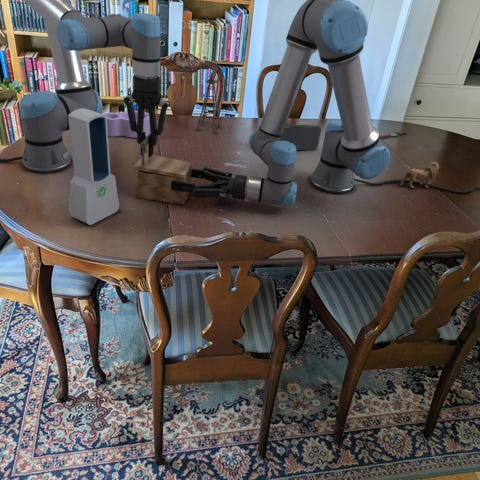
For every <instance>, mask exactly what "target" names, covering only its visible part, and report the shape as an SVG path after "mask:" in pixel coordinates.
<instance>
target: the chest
mask: <svg viewBox="0 0 480 480" xmlns="http://www.w3.org/2000/svg"><path fill="white" fill-rule="evenodd" d="M192 167H193V166H191V168H190V170H189V171H188V173H187V175H186V177H185V179H184V178H179V177H173V176H168V175H163V174H157V173H152V172H147V171H141V170H137V198H138V199H143V200H150V201H155V202H156V201H157V202H164V203H171V204H179V205H185V203H186V201H187V199H188V197H189V195H190V194H191V193H190V192H183V191H176V190H171V181H177V182H184V183H191V184H192V177H191V170H192V169H193V168H192Z"/></svg>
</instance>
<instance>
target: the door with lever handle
mask: <svg viewBox="0 0 480 480" xmlns="http://www.w3.org/2000/svg"><path fill="white" fill-rule="evenodd" d="M150 134H151V133H150ZM150 134H148V135H147V136H146V138H145V139H144V140H143V141H142V142H141V143H140V144H139V146H141V147H142V156H141V157H140V158H139V159H138V160H137V162H136V163H135V164H134V166H133V169H134V170H137V171H139V170H141V171H147V172H152V173H157V174H163V175H168V176H173V177H179V178H184V179H185V177H186V175H187V173H188V171H189V170H190V168H191V166H192V165H193V162H192V161H191V162H190V161H186V160H181V159H176V158H170V157H164V156H159V155H154V154H153V155H152V156H151V157H149V149H148V151H147V153H145V147H148V136H149V135H150ZM192 167H193V166H192Z"/></svg>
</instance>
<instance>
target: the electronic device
mask: <svg viewBox="0 0 480 480" xmlns="http://www.w3.org/2000/svg"><path fill="white" fill-rule="evenodd" d="M103 114H104V113H102V114H100V113H97V112H94V111H91V110H88V109H77V110H75V111H73V112H71V113H70V114H69V115H68V119H69V128H70V130H69V135H70V136H69V137H70V145H71V154H72V155H71V156H72V164H73V172H74V175H73V176H72V178H71V180H70V181H69V184H70V185H69V196H68V197H69V199H68V211H69V213H70V216H71V217H73V218H74V219H76V220H78V221H81V222H83V223H84V224H87V225H89V226H92V225H94V224H96V223H98V222H99V221H102V220H103V219H105V218H107V217H109V216H111V215H113V214H115V213H117V212H118V210H119V208H120V202H119V195H118V188H117V181H116V175H114V174H112V173H111V161H110V145H109V143H110V142H109V136H108V127H107V116H106V115H103Z"/></svg>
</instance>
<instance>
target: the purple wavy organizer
mask: <svg viewBox="0 0 480 480" xmlns="http://www.w3.org/2000/svg"><path fill="white" fill-rule="evenodd" d="M134 111H135V117H136V123H137V119H138V110H134ZM102 114H103V115H106V116H107V127H108V137H127V138H133V139H137V133H136V132H134V131H131V129H130V123H129V117H128V112H127V110H125V111H121V112H104V113H102ZM143 129H144V130H143V131H142V132H145V136H147V135H148V134H150V133H151V130H150V119H149V113H148V112H146V111H145V112H144V124H143Z"/></svg>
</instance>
